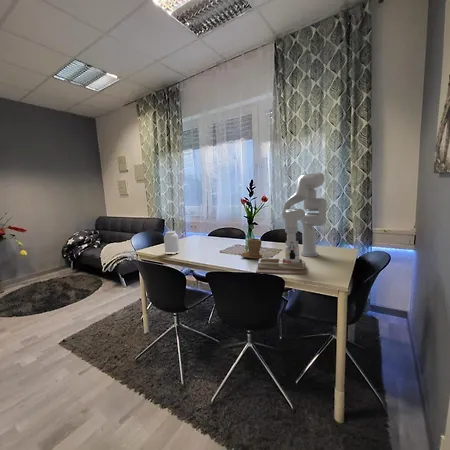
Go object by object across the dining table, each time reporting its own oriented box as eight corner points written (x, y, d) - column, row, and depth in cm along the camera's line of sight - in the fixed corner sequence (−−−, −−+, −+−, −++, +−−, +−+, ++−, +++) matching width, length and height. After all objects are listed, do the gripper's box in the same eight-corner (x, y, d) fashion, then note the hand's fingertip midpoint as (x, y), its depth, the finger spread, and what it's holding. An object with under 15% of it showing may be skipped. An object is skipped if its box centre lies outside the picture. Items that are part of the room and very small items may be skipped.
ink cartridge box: (285, 265, 152) (284, 242, 150) (285, 262, 157) (284, 240, 155) (299, 265, 150) (299, 242, 148) (299, 262, 155) (298, 240, 153)
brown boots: (265, 256, 184) (264, 237, 182) (257, 260, 174) (256, 240, 172) (248, 254, 193) (247, 236, 191) (240, 258, 183) (239, 239, 181)
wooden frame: (260, 261, 171) (259, 255, 171) (304, 262, 163) (303, 255, 163) (255, 273, 148) (255, 266, 148) (306, 274, 140) (306, 267, 140)
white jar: (180, 254, 209) (177, 231, 206) (165, 256, 206) (163, 233, 203) (179, 251, 221) (177, 229, 218) (165, 252, 218) (163, 231, 215)
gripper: (285, 227, 159) (286, 254, 162) (285, 232, 143) (286, 261, 146) (297, 227, 158) (297, 254, 160) (298, 232, 141) (299, 261, 144)
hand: (292, 257), depth 153 cm, fingers closed on ink cartridge box, 5 cm apart
